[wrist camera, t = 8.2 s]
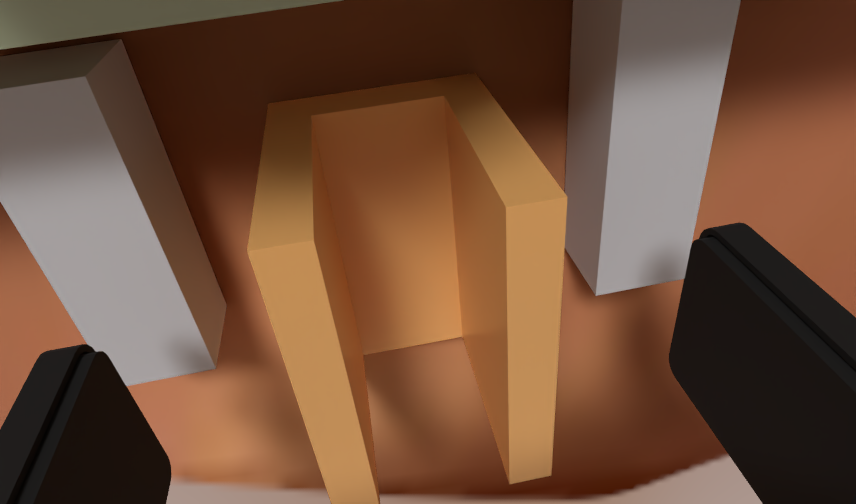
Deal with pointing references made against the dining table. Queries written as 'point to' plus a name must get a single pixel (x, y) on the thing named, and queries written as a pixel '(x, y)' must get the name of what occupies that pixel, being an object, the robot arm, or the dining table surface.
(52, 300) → the dining table surface
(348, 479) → the chute
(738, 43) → the dining table surface
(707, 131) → the green plate with pegs
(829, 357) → the robot arm
